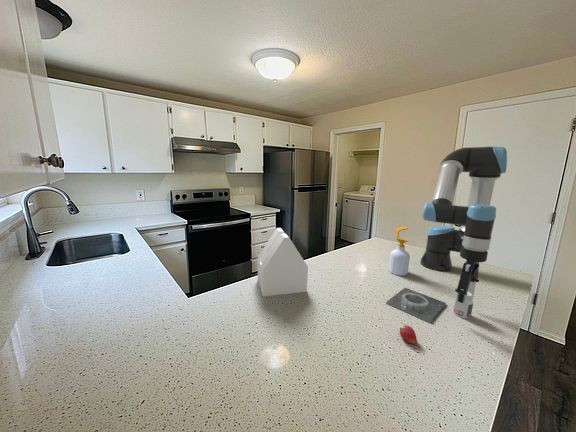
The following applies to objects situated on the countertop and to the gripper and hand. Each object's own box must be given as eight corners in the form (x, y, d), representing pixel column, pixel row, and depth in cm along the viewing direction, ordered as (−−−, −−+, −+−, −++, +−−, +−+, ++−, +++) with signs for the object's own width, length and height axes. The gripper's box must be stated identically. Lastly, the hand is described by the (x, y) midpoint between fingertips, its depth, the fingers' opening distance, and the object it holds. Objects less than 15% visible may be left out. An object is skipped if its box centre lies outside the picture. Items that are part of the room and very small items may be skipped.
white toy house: (262, 296, 97) (263, 238, 92) (257, 279, 111) (257, 228, 107) (306, 291, 102) (309, 236, 97) (296, 276, 116) (298, 227, 111)
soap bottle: (409, 276, 119) (416, 229, 114) (390, 274, 120) (396, 228, 116) (404, 269, 127) (410, 225, 122) (387, 267, 129) (392, 224, 124)
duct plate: (404, 289, 106) (405, 283, 105) (445, 304, 94) (446, 297, 94) (386, 303, 94) (387, 296, 94) (430, 323, 83) (431, 315, 82)
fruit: (411, 348, 70) (413, 334, 69) (395, 336, 76) (396, 322, 75) (421, 345, 72) (423, 330, 71) (404, 332, 77) (406, 319, 76)
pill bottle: (467, 312, 90) (471, 291, 88) (473, 320, 85) (477, 298, 83) (451, 309, 91) (455, 288, 90) (455, 317, 86) (459, 295, 85)
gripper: (469, 239, 94) (460, 288, 98) (452, 252, 77) (442, 310, 81) (494, 244, 88) (483, 296, 92) (480, 259, 72) (468, 321, 76)
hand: (464, 303), depth 87 cm, fingers open, 13 cm apart
